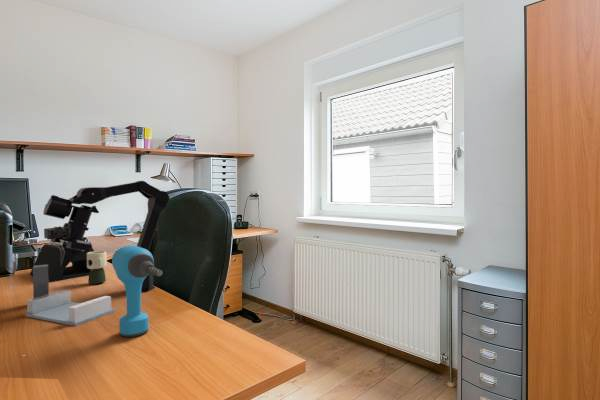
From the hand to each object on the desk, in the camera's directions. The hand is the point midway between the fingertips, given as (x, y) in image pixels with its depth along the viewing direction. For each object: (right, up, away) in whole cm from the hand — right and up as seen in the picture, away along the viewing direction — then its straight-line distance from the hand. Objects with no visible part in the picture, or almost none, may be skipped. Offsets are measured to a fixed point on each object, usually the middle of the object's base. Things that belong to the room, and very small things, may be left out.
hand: (62, 267), depth 117 cm
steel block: (-8, -13, +2) cm, 15 cm away
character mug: (-5, -12, +29) cm, 32 cm away
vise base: (+8, -13, -8) cm, 17 cm away
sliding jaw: (-1, -12, -4) cm, 13 cm away
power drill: (+38, -13, -26) cm, 48 cm away
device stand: (-29, -12, +46) cm, 55 cm away
